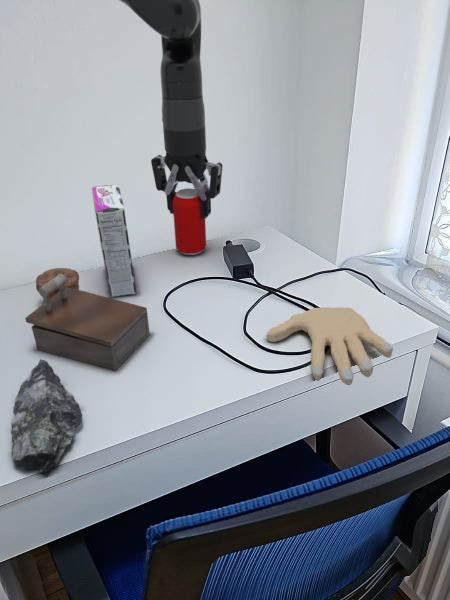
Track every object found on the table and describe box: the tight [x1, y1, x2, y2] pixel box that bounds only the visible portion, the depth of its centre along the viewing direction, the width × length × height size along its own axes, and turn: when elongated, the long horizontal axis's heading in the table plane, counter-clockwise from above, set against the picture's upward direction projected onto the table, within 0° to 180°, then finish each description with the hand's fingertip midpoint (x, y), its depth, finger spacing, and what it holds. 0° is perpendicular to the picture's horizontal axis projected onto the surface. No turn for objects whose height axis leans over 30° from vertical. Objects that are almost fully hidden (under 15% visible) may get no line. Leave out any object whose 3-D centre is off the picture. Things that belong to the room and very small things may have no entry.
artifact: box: [35, 267, 80, 299], centre depth 102 cm, size 8×8×5 cm
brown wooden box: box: [31, 311, 150, 371], centre depth 93 cm, size 15×11×4 cm
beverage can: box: [172, 187, 207, 256], centre depth 115 cm, size 6×6×12 cm
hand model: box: [266, 306, 394, 386], centre depth 91 cm, size 19×5×20 cm
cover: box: [24, 274, 148, 347], centre depth 89 cm, size 15×11×5 cm
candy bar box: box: [91, 184, 137, 298], centre depth 104 cm, size 11×5×16 cm, turn 13°
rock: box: [10, 358, 83, 473], centre depth 79 cm, size 9×22×4 cm, turn 15°
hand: (189, 214), depth 114 cm, fingers closed on beverage can, 6 cm apart
